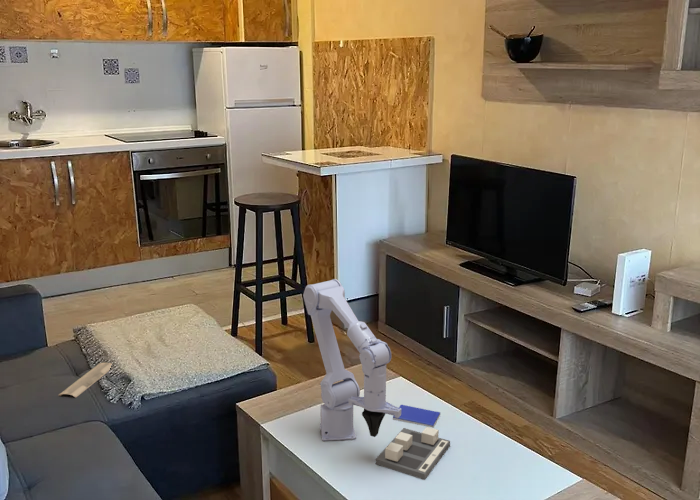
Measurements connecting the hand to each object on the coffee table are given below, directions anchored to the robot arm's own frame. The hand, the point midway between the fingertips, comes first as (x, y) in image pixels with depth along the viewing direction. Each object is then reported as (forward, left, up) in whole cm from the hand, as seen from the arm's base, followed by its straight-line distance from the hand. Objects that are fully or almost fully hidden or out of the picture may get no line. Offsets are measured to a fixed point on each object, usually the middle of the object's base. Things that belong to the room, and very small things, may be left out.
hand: (374, 434), depth 180 cm
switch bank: (+11, 0, -7) cm, 13 cm away
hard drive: (+16, +20, -7) cm, 26 cm away
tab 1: (+5, -3, -5) cm, 8 cm away
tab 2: (+8, +2, -5) cm, 10 cm away
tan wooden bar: (-87, +54, -8) cm, 102 cm away
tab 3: (+16, +3, -5) cm, 17 cm away
